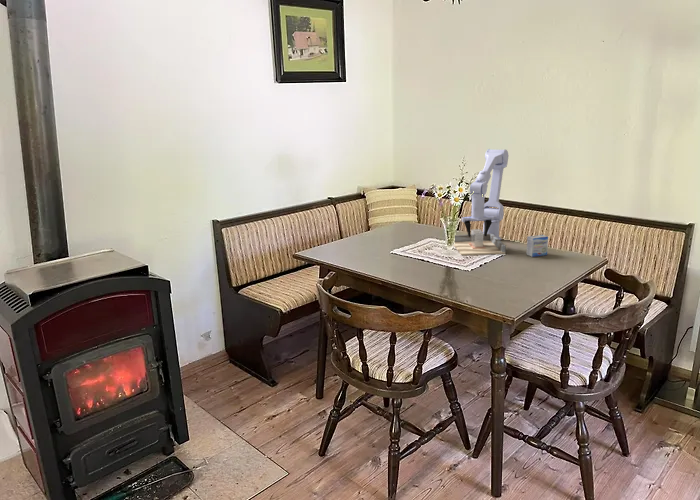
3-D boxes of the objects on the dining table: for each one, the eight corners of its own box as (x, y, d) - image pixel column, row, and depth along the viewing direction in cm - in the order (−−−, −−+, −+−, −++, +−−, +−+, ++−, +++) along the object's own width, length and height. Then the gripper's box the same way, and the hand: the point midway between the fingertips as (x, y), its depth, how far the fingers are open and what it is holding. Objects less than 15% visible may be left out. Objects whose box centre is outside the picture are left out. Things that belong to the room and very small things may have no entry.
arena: (451, 242, 267) (451, 235, 266) (492, 240, 267) (492, 233, 266) (461, 255, 246) (461, 247, 245) (505, 253, 246) (505, 245, 245)
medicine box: (531, 257, 239) (532, 238, 237) (526, 254, 244) (527, 236, 241) (547, 255, 241) (548, 236, 239) (541, 252, 246) (542, 234, 243)
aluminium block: (474, 247, 254) (474, 233, 252) (471, 243, 261) (471, 229, 259) (483, 247, 254) (483, 232, 252) (479, 243, 261) (479, 229, 259)
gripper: (464, 210, 249) (463, 238, 252) (495, 208, 249) (494, 237, 252) (460, 207, 255) (460, 235, 259) (491, 205, 255) (490, 233, 259)
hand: (477, 236), depth 256 cm, fingers open, 7 cm apart
